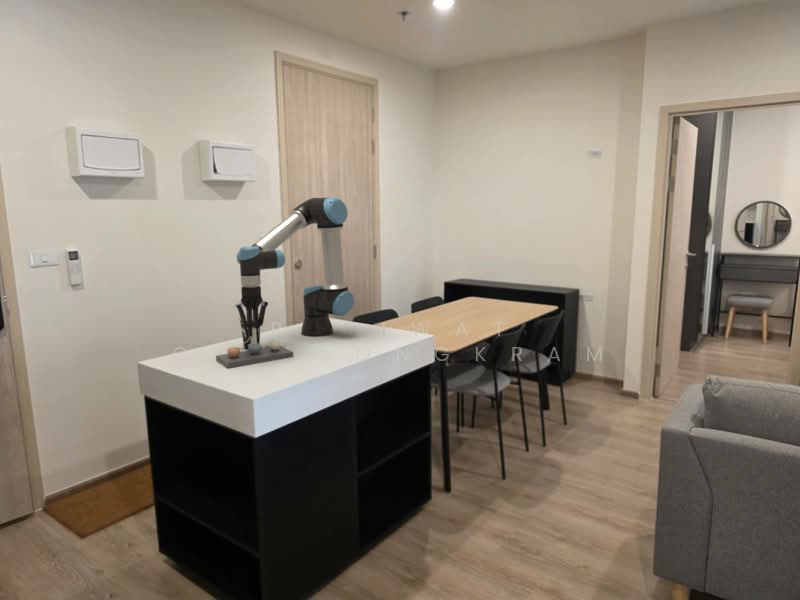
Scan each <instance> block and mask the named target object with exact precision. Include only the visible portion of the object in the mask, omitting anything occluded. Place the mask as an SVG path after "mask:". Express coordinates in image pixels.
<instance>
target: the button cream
mask: <svg viewBox="0 0 800 600" xmlns="http://www.w3.org/2000/svg"><path fill="white" fill-rule="evenodd" d="M280 346H281V341H279V340H271V341H269V342H268V345H267V347H269V349H271V350H272V352H275V351H278V349H280Z"/></svg>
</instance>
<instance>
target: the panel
mask: <svg viewBox="0 0 800 600" xmlns="http://www.w3.org/2000/svg"><path fill="white" fill-rule="evenodd" d="M287 358H294V351H293V350H290V349H287V348H286V347H283V346H281V345H280V349H278V351H275V352H272V350H271V349H269V347H268V346H267V347H261V350H260V351H258V354H257V355H252V352H251V351H249V350H248V349H247V350H244V351H243V350H240V355H239V356H237V358H234V359H231V356H228V353H223V354H217V355H215V361H216V362H218V363H219V364H221V365H223V366H224V368H226V369H231V368H238V367H244V366H249V365H255V364H261V363H265V362H272V361H276V360H282V359H287Z"/></svg>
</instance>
